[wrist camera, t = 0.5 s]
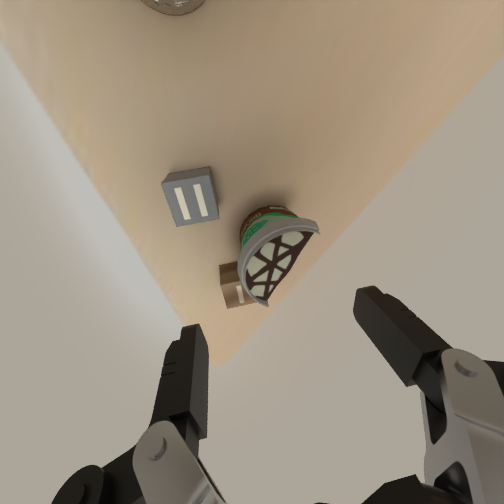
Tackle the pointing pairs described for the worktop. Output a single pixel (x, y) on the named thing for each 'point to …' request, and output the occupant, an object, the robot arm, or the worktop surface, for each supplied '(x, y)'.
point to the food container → (270, 248)
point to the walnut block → (233, 286)
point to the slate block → (191, 196)
